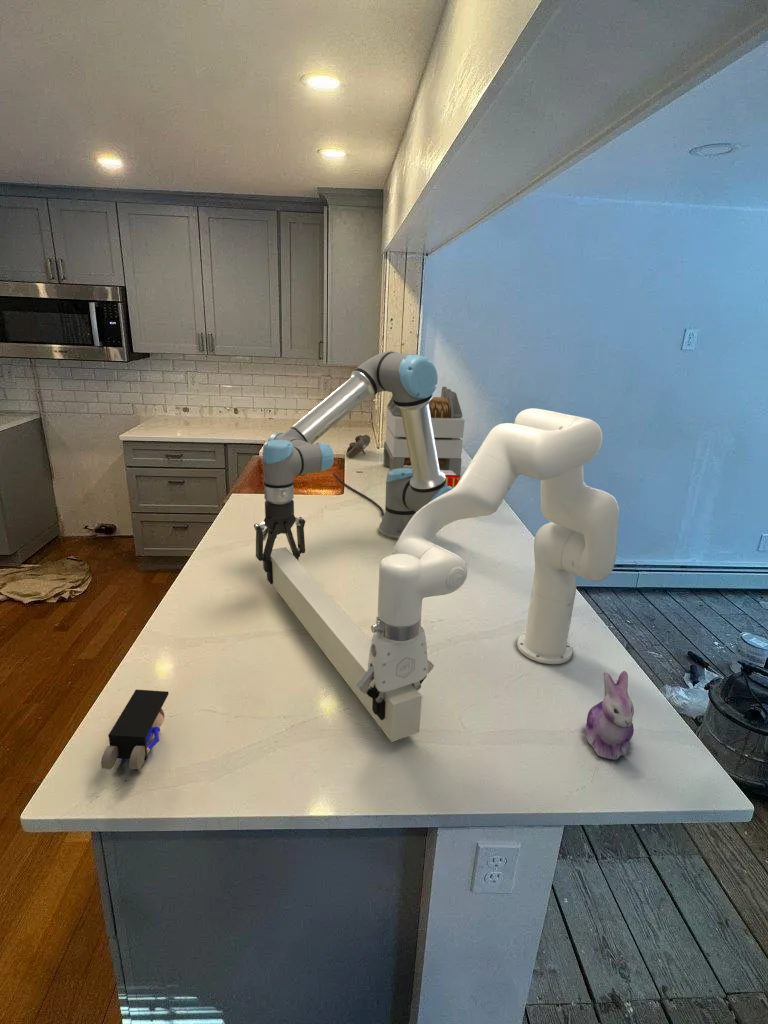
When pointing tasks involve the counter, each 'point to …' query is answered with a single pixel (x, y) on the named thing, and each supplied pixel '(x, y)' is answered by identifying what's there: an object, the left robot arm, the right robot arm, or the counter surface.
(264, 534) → the feather
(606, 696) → the figurine
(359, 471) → the counter surface
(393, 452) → the grey slatted crate
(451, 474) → the red striped box
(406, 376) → the left robot arm
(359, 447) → the fossil
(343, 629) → the bar
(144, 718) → the figurine character
